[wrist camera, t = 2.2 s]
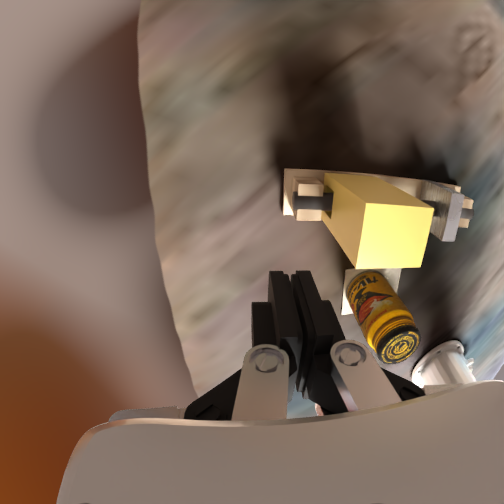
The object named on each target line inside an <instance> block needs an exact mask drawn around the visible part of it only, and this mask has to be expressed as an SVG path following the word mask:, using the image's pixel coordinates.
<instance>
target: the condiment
mask: <svg viewBox="0 0 504 504" xmlns="http://www.w3.org/2000/svg"><path fill="white" fill-rule="evenodd" d="M400 273H401V268H374V269H355V268H353V269H347V270H345V281H344V291H343V302H342V314H341V315H346V314H351V313H354V315H355V318H356V320H357V322H358V324H359V326H360V327H361V330H362V332H363V335H364V337H365V338H366V341H367V342H368V344H369V346H371V347H372V348H373V349H374V351H375V352H376V353H377V356H378V358H379V360H381V361H382V362H383V363H386V364H396V363H400V362H402V361H404V360H406V359H407V358H408V357H410V356H411V355H412V354H413V353H414V352H415V350H416V349H417V348H418V346H419V343H420V340H421V335H420V332H419V330H418V328H416V325H415V323H414V320H413V317H412V315H411V313H410V312H409V310H408V309H407V307H406V306H405V304H404V303H403V302H402V300H401V299H400V297H399V296H398V295H397V289H398V284H399V279H400ZM385 276H386V278H385ZM387 278H388V279H387Z"/></svg>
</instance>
